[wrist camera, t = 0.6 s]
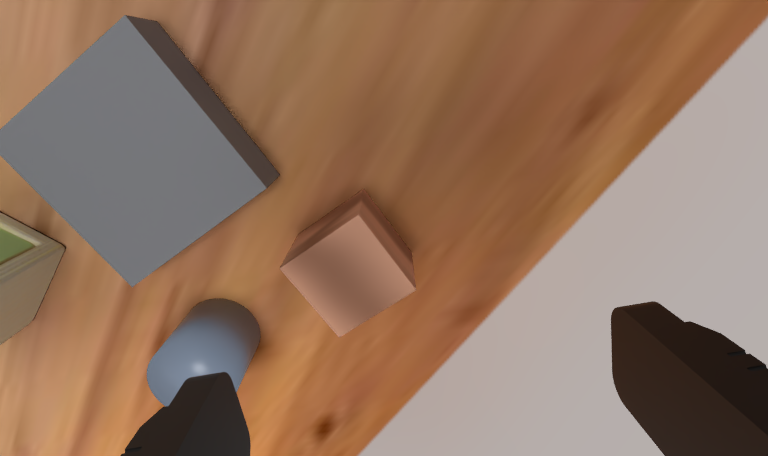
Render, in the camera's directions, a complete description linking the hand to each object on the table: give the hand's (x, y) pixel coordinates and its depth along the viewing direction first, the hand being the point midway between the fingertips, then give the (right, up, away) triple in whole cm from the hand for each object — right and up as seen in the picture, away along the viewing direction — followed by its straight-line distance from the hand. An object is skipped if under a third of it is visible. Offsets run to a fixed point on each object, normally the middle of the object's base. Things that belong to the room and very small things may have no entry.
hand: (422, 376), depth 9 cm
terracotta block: (-3, +2, +18) cm, 19 cm away
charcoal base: (-14, +7, +16) cm, 23 cm away
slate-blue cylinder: (-12, -4, +20) cm, 24 cm away
